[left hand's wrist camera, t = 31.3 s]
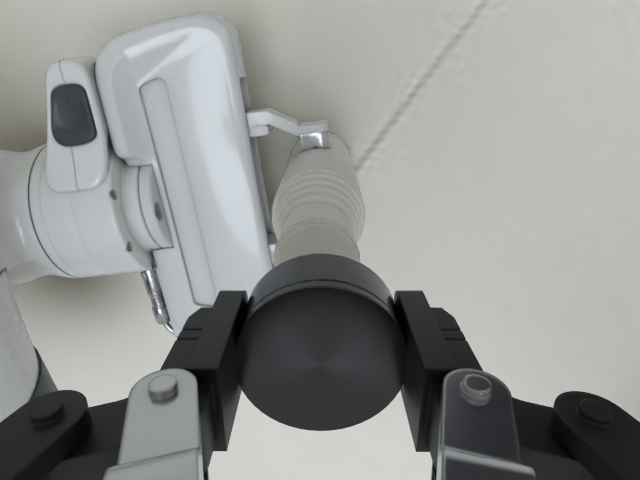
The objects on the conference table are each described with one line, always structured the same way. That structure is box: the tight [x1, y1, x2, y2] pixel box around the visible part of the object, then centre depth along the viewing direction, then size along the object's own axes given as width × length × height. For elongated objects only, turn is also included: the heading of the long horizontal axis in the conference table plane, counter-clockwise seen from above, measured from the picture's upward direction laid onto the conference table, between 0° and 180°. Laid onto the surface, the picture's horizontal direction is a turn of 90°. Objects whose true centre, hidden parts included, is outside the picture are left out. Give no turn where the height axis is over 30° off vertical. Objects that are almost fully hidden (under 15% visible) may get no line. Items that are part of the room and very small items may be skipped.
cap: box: [235, 253, 407, 431], centre depth 12 cm, size 4×4×2 cm
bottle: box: [272, 133, 365, 267], centre depth 25 cm, size 5×5×18 cm
